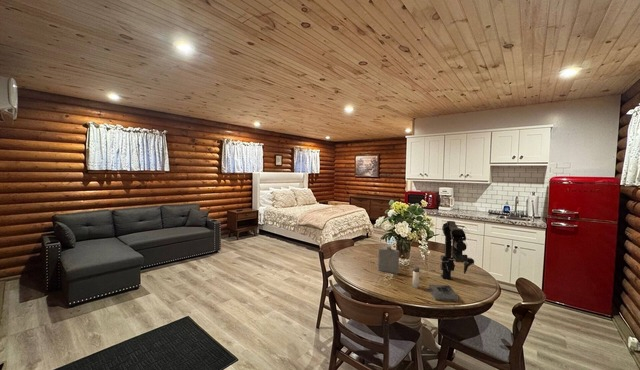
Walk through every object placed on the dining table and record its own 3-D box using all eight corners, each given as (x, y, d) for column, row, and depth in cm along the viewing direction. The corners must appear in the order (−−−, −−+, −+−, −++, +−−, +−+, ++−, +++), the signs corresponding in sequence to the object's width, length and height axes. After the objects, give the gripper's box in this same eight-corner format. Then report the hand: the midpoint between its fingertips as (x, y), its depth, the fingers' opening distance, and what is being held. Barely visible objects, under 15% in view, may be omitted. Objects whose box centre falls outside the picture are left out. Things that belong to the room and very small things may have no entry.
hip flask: (377, 270, 210) (378, 245, 209) (378, 268, 214) (379, 244, 212) (398, 274, 203) (399, 248, 202) (398, 272, 207) (399, 247, 206)
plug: (411, 285, 184) (412, 267, 183) (417, 285, 184) (418, 267, 183) (413, 287, 180) (413, 269, 179) (419, 288, 180) (420, 269, 179)
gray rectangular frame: (428, 290, 177) (429, 284, 177) (449, 291, 176) (449, 285, 175) (435, 299, 164) (435, 293, 164) (457, 301, 163) (457, 294, 162)
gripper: (444, 249, 166) (443, 274, 165) (477, 252, 161) (476, 278, 161) (440, 246, 177) (440, 270, 176) (471, 249, 172) (471, 273, 171)
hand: (456, 273), depth 171 cm, fingers open, 9 cm apart
